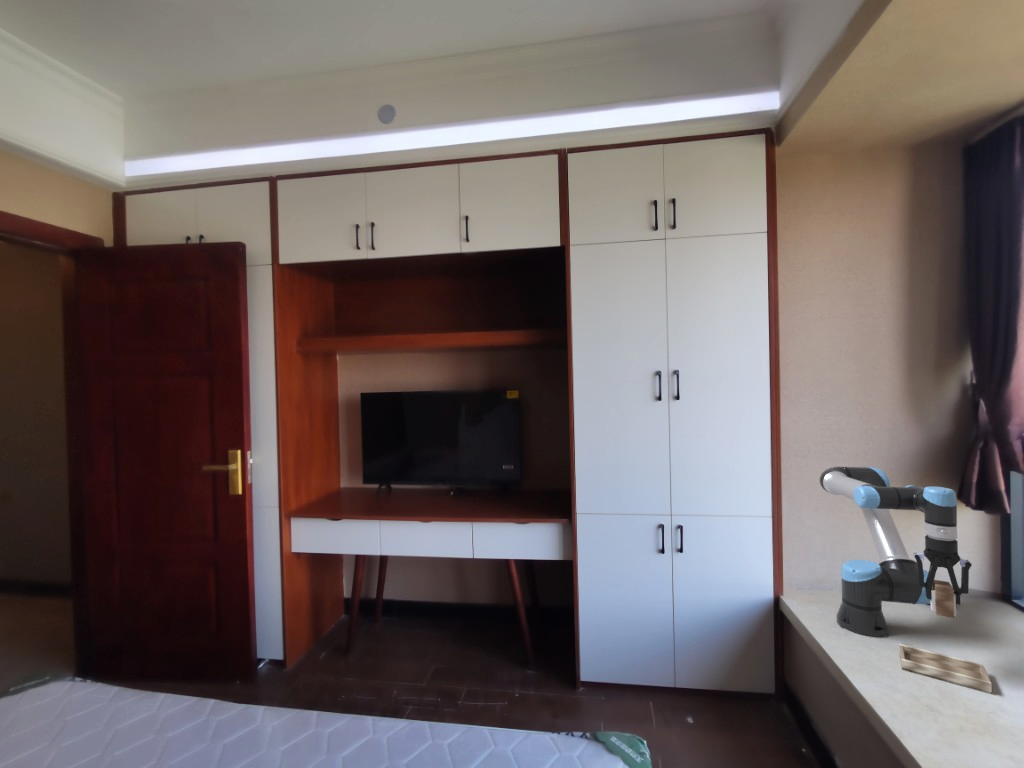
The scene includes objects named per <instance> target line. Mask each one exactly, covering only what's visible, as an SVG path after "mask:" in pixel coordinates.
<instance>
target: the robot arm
mask: <svg viewBox="0 0 1024 768" xmlns="http://www.w3.org/2000/svg"><path fill="white" fill-rule="evenodd" d="M866 467H867V468H866ZM844 468H845V469H844ZM818 480H819V485H820V487H821V488H822V489H823V490H824V491H825V492H827V493H829V494H832V495H834V496H843V497H846V498H847V499H850V500H853V502H855V504H856V505H857V507H859V508H860V509H861V511H862V513H863V516H864V519H865V522H866V524H867V527H868V529H869V532H870V535H871V538H872V540H873V543H874V546H875V548H876V551H877V553H878V556H879V559H880V561H879V562H878V563H877V562H876V561H871V560H865V559H851V560H848V561H845V562H844V563H843V564H842V565H841V573H840V577H841V604H840V605H839V608H838V611H837V613H836V623H837V625H839V626H840V627H841V628H842V629H845V630H846V631H848V632H852V633H853V634H856V635H860V636H864V637H870V638H884V637H887V636H888V635H889V625H888V623H887V620H886V617H885V615H884V612H883V610H882V608H883V607H882V606H883V605H882V604H883V603H882V602H887V603H888V602H889V603H896V604H897V603H898V604H899V603H900V604H910V605H929V604H928V603H929V602H930V601H931V604H930V610H931V611H932V612H934V613H935V612H936V609H935V590H934V588H932V586H933V582H934V580H935V577H936V574H937V570H938V569H939V568H943V569H946V571H947V573H948V576H949V580H950V585H951V586H952V588H953V596H954V617H956V616H957V605H961V595H963V594H965V595H968V594H969V588H970V587H969V581H970V580H969V579H970V577H969V575H970V569H971V567H972V566H973V565H972V562H971V561H969V560H968V559H963V558H962V557H960V555H959V551H958V550H959V549H958V548H959V547H958V546H959V545H958V543H959V542H958V541H957V539H958V516H957V515H958V513H957V512H958V509H957V508H958V507H957V506H958V505H957V504H958V501H957V495H956V492H955V490H954V489H951V488H947V487H943V486H926V487H922V486H918V485H917V486H916V485H911V484H910V485H906V486H890V484H891V483H890V479H889V477H888V476H887V475H886V473H885V472H884V471H883V470H882V469H880V468H877V467H869V466H863V467H861V466H860V467H859V466H833V468H832V467H829V468H827V469H825V470H824V471H823V472H822V473H821V474H820V476H819V479H818ZM890 510H897V511H898V510H899V511H901V510H902V511H903V510H904V511H918V512H921V513H923V514H924V516H923V517H924V534H925V536H924V545H925V548H924V550H923V552H920V553H918V552H913V557H914V559H915V560H914V559H912V558H910V557H909V555H908V552H907V550H906V547H905V545H904V542H903V540H902V537H901V535H900V532H899V530H898V528H897V526H896V523H895V521H894V519H893V516H892V513H891V511H890ZM925 558H926V559H927V560H928V561H929V562H930V563H929V569H928V570H926V569H924V566H923V565H924V564H923V561H924V560H925ZM958 563H959V564H960V566H961V570H960V571H961V573H960V576H961V577H960V584H961V585H960V587H959V583H958V580H957V577H956V573H955V570H954V566H956V565H957V564H958Z"/></svg>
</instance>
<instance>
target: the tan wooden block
mask: <svg viewBox="0 0 1024 768" xmlns="http://www.w3.org/2000/svg"><path fill="white" fill-rule="evenodd" d="M932 588H934V590H935V609H936V612H934V613H935V615H936V616H940V617H944V618H945V617H946V618H951V619H955V616H954V596H953V592H954V590H953V587H952V584H951V582H950V581H946V580H945V581H944V580H940V579H939V580H938V579H934V582H933V586H932Z"/></svg>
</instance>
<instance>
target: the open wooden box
mask: <svg viewBox="0 0 1024 768" xmlns="http://www.w3.org/2000/svg"><path fill="white" fill-rule="evenodd" d="M898 648H899V651H898V652H899V658H900V659H899V660H900V665H901V670H903V671H906V672H910V673H913V674H917V675H921V676H925V677H929V678H932V679H936V680H938V681H939V680H940V681H943V682H947V683H951V684H954V685H957V686H961V687H965V688H969V689H972V690H975V691H980V692H983V693H985V694H986V693H987V694H992V693H993V692H992V691H993V690H992V687H993V686H992V682H991V680H990V677H989V674H988V672H987V670H986V667H985V665H984V664H981V663H979V662H974V661H971V660H965V659H962V658H958V657H953V656H950V655H945V654H941V653H938V652H933V651H929V650H926V649H921V648H919V647H918V648H917V647H914V646H910V645H905V644H901V643H899V644H898Z"/></svg>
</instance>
